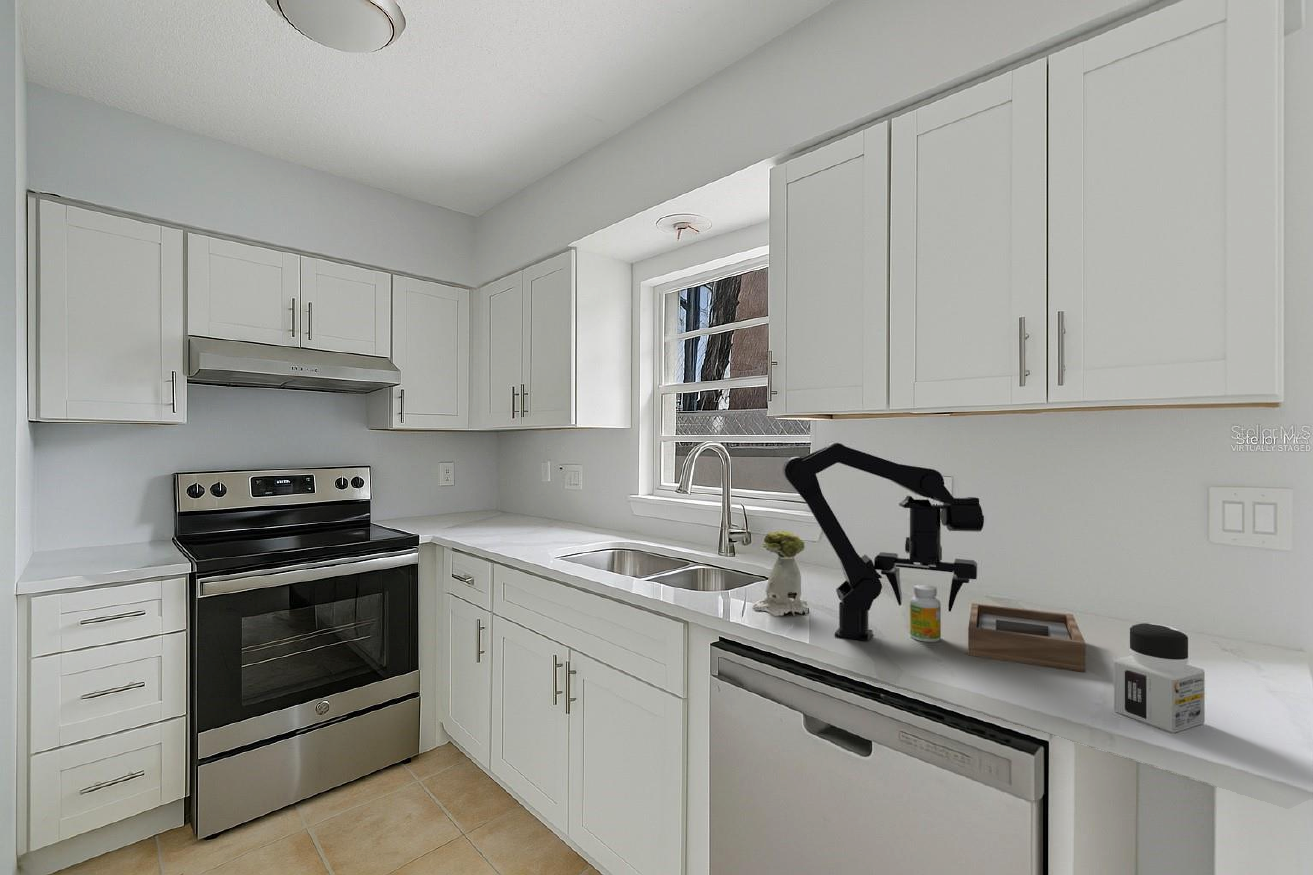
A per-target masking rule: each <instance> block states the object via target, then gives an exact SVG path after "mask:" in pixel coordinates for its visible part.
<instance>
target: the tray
mask: <svg viewBox="0 0 1313 875" xmlns="http://www.w3.org/2000/svg"><path fill="white" fill-rule="evenodd" d="M969 615H970V616H969V620H968V628H967V631H968V632H967V636H968V637H967V638H968V640H967V643H968V644H967V647H968V648H967V649H968V650H967V651H968V652H967V653H968V654H967V655H968V656H973V657H980V658H987V659H993V660H1000V661H1007V662H1013V663H1019V664H1027V665H1032V666H1038V667H1039V666H1040V667H1046V668H1053V669H1060V670H1066V671H1073V672H1079V673H1080V672H1081V673H1086V641H1085V639H1084V637H1083V634H1082V632H1081V630H1080V628H1079V626H1078V625H1079V624H1078V623H1077V621H1076V618H1075V616H1074V614H1070V613H1062V612H1052V611H1046V610H1045V611H1044V610H1034V609H1026V608H1018V607H1009V606H999V605H989V604H982V603H981V604H980V603H973V602H972V603H971V607H970V614H969Z"/></svg>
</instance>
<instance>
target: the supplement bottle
mask: <svg viewBox="0 0 1313 875" xmlns="http://www.w3.org/2000/svg"><path fill="white" fill-rule="evenodd" d="M937 590H938V588H937V587H935V586H934V585H933V586H932V585H928V584H916V585H914V586H913V594H914V596H913V597H911V599H910V601H909V603H910V604H909V609H910V610H909V611H910V612H909V636H910V637H911V639H914V640H917V641H919V642H920V641H921V642H925V643H926V642H927V643H936V642H939V641H940V640H941V635H942V634H941V633H942V632H941V628H942V627H941V626H942V625H941V623H942V622H941V618H942V616H941V614H942V613H941V612H942V609H941V601H940V600H939V599H938V598H936V597H937V596H938V591H937Z"/></svg>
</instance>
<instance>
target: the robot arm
mask: <svg viewBox="0 0 1313 875" xmlns="http://www.w3.org/2000/svg"><path fill="white" fill-rule="evenodd" d="M838 463H839V464H841V465H843V466H848V467H849V468H853V469H856V470H859V471H862V472H865V473H868V474H871V475H873V476H877V477H880V478H883V479H887V480H889V481H891V483H895V485H898V486H900V487H901V488H902V489H905V490H907V491H909V492H911V493H912V494H913V495H918V496H920V497H924V498H928V499H918V498H917V499H914V498H913V496H911V495H906V497H905V498H904V499H903V500H902V501H900V502H899V503H898V506H899V507H902V508H904V509H909V537H908V536H907V537H905V543H904V550H905V553H906V554H909V558H903V557H902V558H901V557H899V553H893V552H881V551H879V553H878V554H876V556H875V557H874V561H873V560H872V559H871V558H870V557H869V556H868V555H867V554H864V555H862V556H860V555H859V554H858V553H857V551H856V549H855V548H854V546H853V544H852V542H851V540H850V539H849V537H848V536H847V534H846V532H845V530H844V529H843V527H842V525H841V524H840V522H839V520H838V518H837V517H836V515H835V514H834V511H833V510H832V509H831V507H830V505H829V503H828V502H827V500H826V498H825V497H824V495H823V493H822V490H821V486H820V482H819V480H818V476H817V474H818V473H819V474H820V473H821V472H822V471H825V470H826V469H828V468H830V467H832V466H833V465H836V464H838ZM782 474H783V476H784V479H786V480H787V482H788V483H789V484H790V485H791V487H793V489H794V490H795V491H796V493H798V494H799V496H800V497H801V498H802V500H803V501H804V502H805V503H806V505H807V507H808V509H809V510H810V511H811V513H812V515H813V517H814V519H815V520H816V522H817V524H818V526H819V527H820V530H822V532H823V534H824V536H825V538H826V539H827V541H828V542H829V545H830V546H831V548H832V549H833V551H834V553H835V555H836V556H837V558H838V560H839V564H840V567H841V570H842V574H843V575H844V578H845V580H844V582H842V583H841V584H840V585H839V586H838V587H837V588H835V592H836V594H837V597H838V599H839V600H840V602H839V603H838V605H839V607H838V620H839V621H838V624H839V626H838V629H837V630H836V631H835V632H834V636H835V637H839V638H845V639H851V640H859V641H867V642H868V641H869V639H870V638H871V636H872V634H873V632H874V630H872V629H869V617H870V616H869V615H870V613H869V611H870V610H871V607H872V605H873V603H874V600H875V599H877V598H878V597H879V596H880V595H881V593H882V589H883V585H882V584H883V583H882V581H881V580H880V579H882V578H883V577H882V575H884V576H886V578H887V580H888V582H889V584H890V586H891V588H892V590H893V594H894V595H895V598H896V602H897V604H898V606H902V602H903V601H902V600H903V597H902V596H903V594H902V587H901V579H900V577H901V576H900V569H901V568H904V569H912V570H913V569H914V570H915V569H916V570H923V571H924V570H925V571H935V572H943V573H944V572H945V573H952V574H953V575H952V579H951V583H950V592H949V597H948V598H949V599H948V606H947V607H948V612H952V609H953V606H954V604H955V601H956V598H957V595H958V593H959V591H960V589H961V587H962V586H963V584H969V583H970V580H977V578H978V563H977V562H976V561H975V560H974V559H962V558H955V559H954V562H947V561H946V562H945V561H942V560H943V548H942V545H941V543H942V542H941V537H942V536H941V533H942V532H941V525H942V526H944V527H945V526H946V529H947V530H948V531H949V532H974V533H975V532H981V531H982V530H983V529H984V528H983V527H984V524H985V515H984V514H983V509H982V506H981V504H980V497H979V498H978V497H975V496H968V497H954V496H953V495H952V494H951V492H950V491H949V490H948V489H947V487H946V486H945V479H944V477H943V475H942V473H941V472H940V471H937V469H933V468H926V467H920V466H913V465H906V464H900V463H896V462H895V461H891V460H888V459H885V458H882V457H879V456H876V455H872V454H869V453H866V452H863V451H860V450H857V449H854V448H851V447H847V446H845V445H844V444H843V443H841V442H840V443H839V442H831V443H829V444H828V445H827V446H824V447H823V448H820V449H819V450H815V451H814V452H811V453H809V454H807V455H805V456H803V457H801V456H792V457H790V458H788V459H787V460H786V461H784V464H783V466H782ZM929 499H931V500H932V501H936V502H938V503H942V504H932V503H931V501H930V500H929ZM915 563H916V564H915ZM877 571H880V573H878V572H877ZM880 574H881V575H880Z"/></svg>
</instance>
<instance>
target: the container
mask: <svg viewBox="0 0 1313 875" xmlns="http://www.w3.org/2000/svg"><path fill="white" fill-rule="evenodd" d="M1129 654H1130V655H1129V656H1125V657H1121V658H1116V659H1114V660H1113V710H1114V712H1116V713H1118V714H1120V715H1123V716H1126V717H1129V718H1131V719H1134V720H1136V721H1139V722H1142V723H1145V724H1147V725H1150V726H1152V727H1155V728H1158V729H1161V730H1163V731H1167V732H1168V733H1172V734H1174V733H1178V732H1180V731H1184V730H1187V729H1190V728H1195V727H1196V726H1199V725H1203V724H1205V720H1206V719H1205V715H1206V714H1205V712H1206V710H1205V704H1206V703H1205V702H1206V701H1205V700H1206V699H1205V698H1206V697H1205V695H1206V693H1205V692H1206V691H1205V688H1206V687H1205V686H1206V685H1205V681H1206V680H1205V675H1206V674H1205V670H1204V669H1203V668H1201V667H1196V666H1193V665H1190V664H1189V636H1188V635H1187V634H1186V633H1185V632H1183V631H1182V630H1180V629H1178V628H1175V627H1172V626H1169V625H1164V624H1158V623H1150V622H1149V623H1148V622H1147V623H1138V624H1137V623H1136V624H1134V625H1132V626H1131V627H1130V628H1129Z"/></svg>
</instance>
